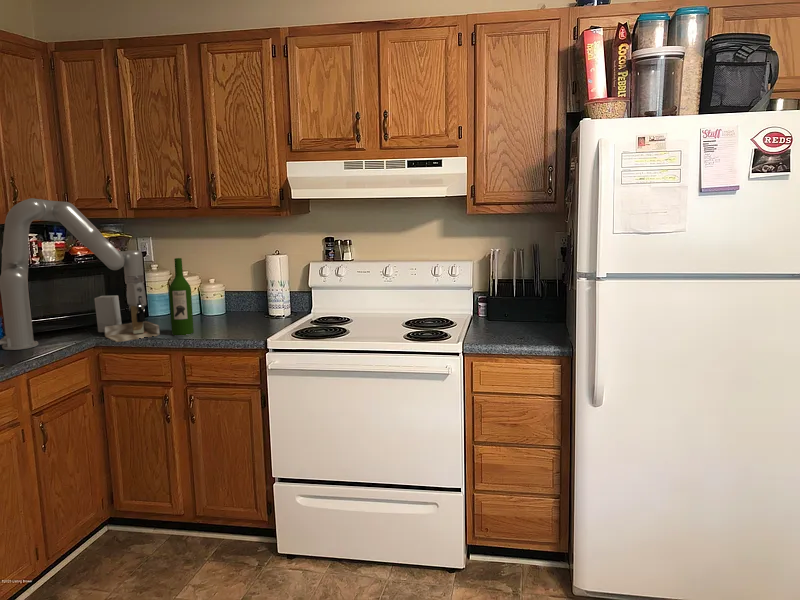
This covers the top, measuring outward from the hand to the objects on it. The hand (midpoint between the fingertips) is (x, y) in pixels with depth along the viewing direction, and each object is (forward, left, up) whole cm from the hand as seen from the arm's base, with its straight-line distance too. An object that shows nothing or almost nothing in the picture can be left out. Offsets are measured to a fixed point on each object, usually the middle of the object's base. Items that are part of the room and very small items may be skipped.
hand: (137, 320), depth 291 cm
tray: (-3, -2, -6) cm, 7 cm away
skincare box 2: (0, 0, -6) cm, 6 cm away
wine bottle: (+15, -12, -7) cm, 20 cm away
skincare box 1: (-6, +17, -7) cm, 20 cm away
